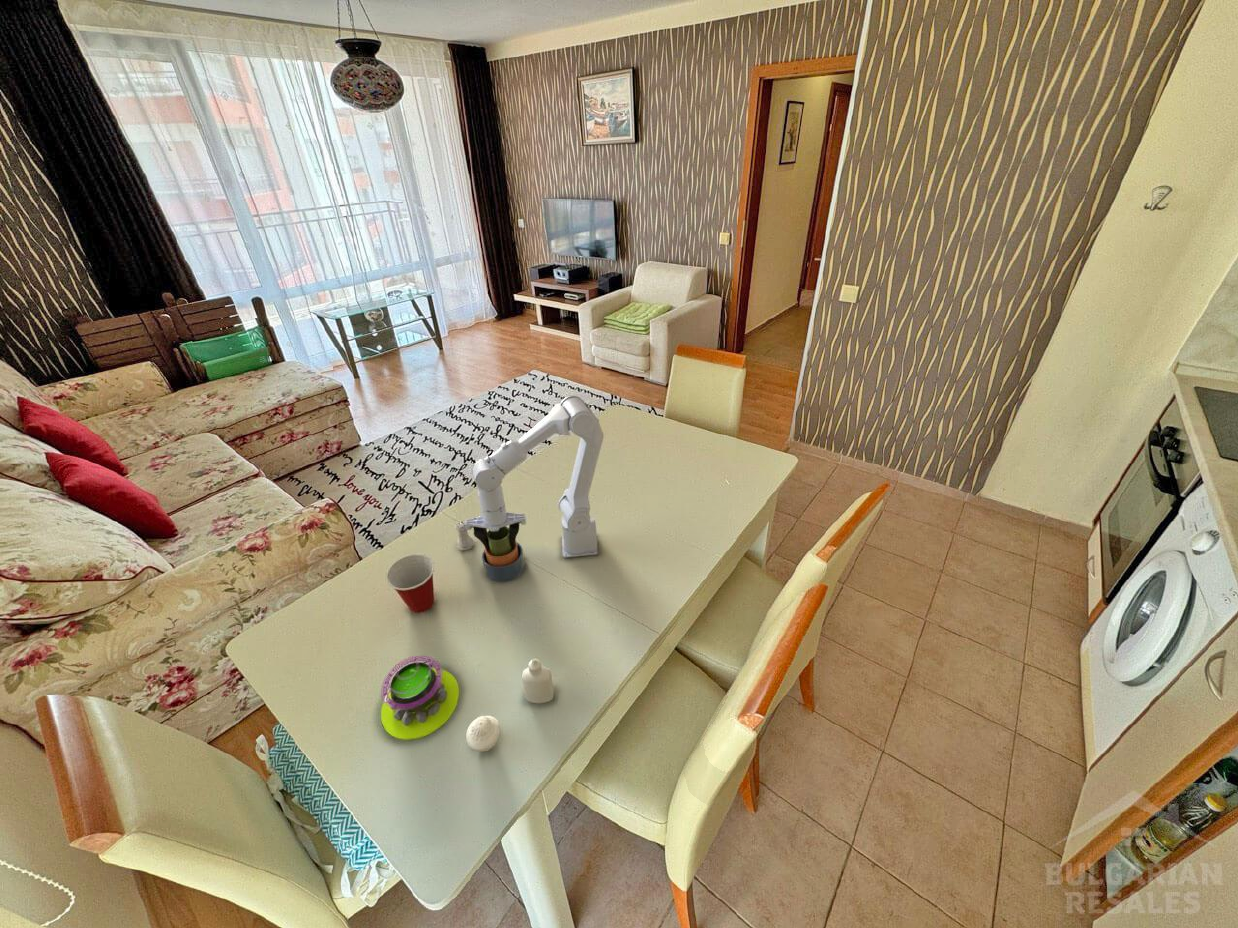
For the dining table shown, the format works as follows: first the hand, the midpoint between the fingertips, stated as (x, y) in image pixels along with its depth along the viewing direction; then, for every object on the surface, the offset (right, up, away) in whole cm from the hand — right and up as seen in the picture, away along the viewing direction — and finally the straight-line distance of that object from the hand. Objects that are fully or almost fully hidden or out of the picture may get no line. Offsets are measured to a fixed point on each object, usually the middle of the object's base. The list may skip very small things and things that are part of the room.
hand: (500, 546), depth 126 cm
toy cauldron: (-10, -27, -27) cm, 40 cm away
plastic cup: (-18, -13, -6) cm, 23 cm away
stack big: (0, -6, +4) cm, 8 cm away
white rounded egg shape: (+6, -31, -34) cm, 47 cm away
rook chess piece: (-13, -2, +11) cm, 17 cm away
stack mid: (0, -6, +4) cm, 8 cm away
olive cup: (0, -1, +1) cm, 1 cm away
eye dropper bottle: (+14, -26, -26) cm, 40 cm away
